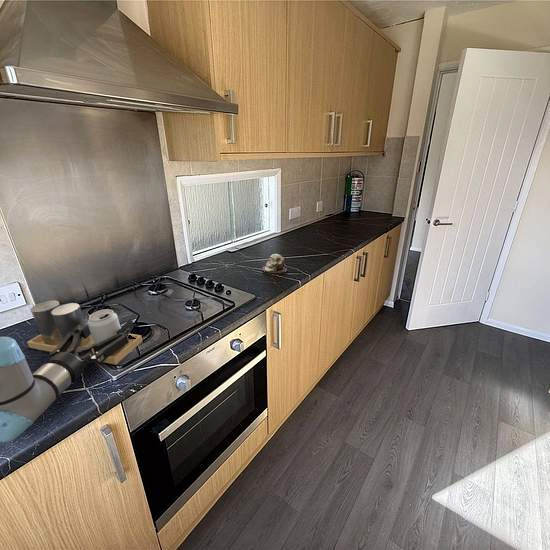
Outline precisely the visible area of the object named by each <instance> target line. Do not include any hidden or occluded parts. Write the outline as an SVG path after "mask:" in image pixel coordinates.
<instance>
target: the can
mask: <svg viewBox="0 0 550 550" xmlns="http://www.w3.org/2000/svg"><path fill="white" fill-rule="evenodd" d="M87 325H88V326H89V329H90V332H91V335H92V338H93V341H94V344H98V343H100V342H102V341H104V340H106V339H108V338H110V337H112V336H114V335H116V334H117V331H118V330H119V329H120V328H121V327H122V326H121V324H120V320H119V317H118V314H117V313H116V312H114V310H113V309H109V308H106V309H100V310H95V312H93V313H91V314H90V315H89V316H88V321H87ZM119 350H120V349H119ZM119 350H118V351H119ZM118 351H116V352H118ZM116 352H115V353H116ZM113 354H114V353H113Z"/></svg>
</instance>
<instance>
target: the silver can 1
mask: <svg viewBox="0 0 550 550" xmlns="http://www.w3.org/2000/svg"><path fill="white" fill-rule="evenodd" d="M59 306H61V304H60V302H59V300H54V299H53V300H46V301H43V302H39V303H37V304H35V305H33V306H32V307H31V308H30V313H31V315H32V317H33V320H34V322H35V324H36V327H37V329H38V332H39V335H40V334H41V337H42V339H43V341H44V344H47V345H57V344H60V343H61V341H62V340H61V337H60V335H59V332H58V330H57V327H56V324H55V322H54V319H53V317H52V314H51V312H52V310H53V309H55V308H57V307H59Z"/></svg>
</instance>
